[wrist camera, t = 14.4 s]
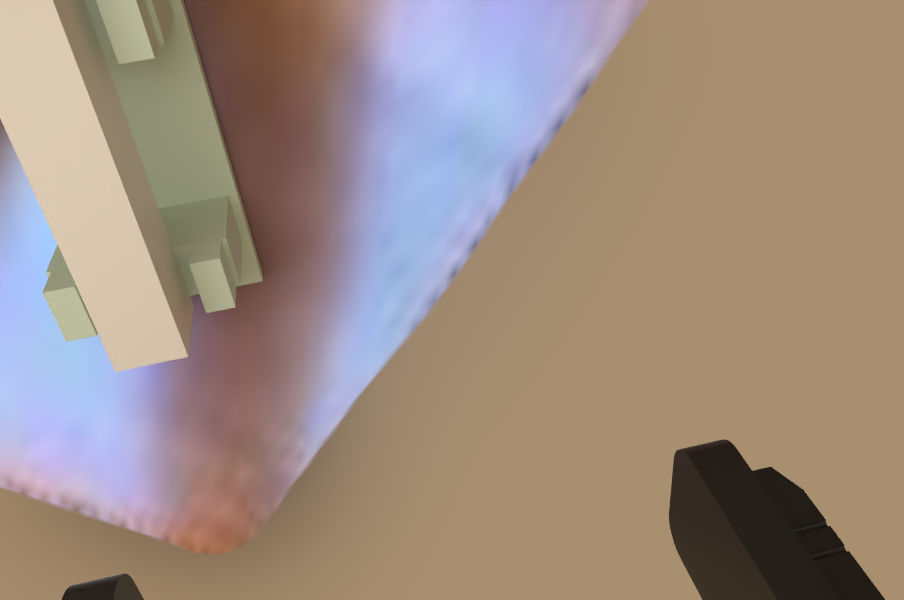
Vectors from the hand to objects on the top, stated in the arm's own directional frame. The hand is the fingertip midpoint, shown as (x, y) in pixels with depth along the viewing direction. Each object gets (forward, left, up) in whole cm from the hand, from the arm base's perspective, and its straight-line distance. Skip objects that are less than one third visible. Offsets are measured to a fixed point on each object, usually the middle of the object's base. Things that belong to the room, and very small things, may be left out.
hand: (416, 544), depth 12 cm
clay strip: (+5, -11, -30) cm, 32 cm away
